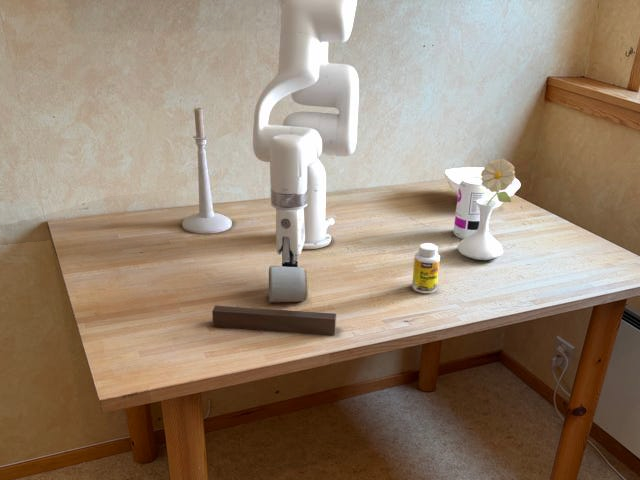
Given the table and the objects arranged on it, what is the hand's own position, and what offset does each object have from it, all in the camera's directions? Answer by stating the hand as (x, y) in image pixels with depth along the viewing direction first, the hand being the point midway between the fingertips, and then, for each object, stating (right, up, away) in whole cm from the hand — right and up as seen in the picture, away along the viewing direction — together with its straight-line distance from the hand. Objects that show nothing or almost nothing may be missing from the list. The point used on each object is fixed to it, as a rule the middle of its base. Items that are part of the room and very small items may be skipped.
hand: (290, 278), depth 152 cm
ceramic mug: (0, -5, -4) cm, 6 cm away
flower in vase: (+46, +8, +21) cm, 51 cm away
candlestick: (-25, +18, +31) cm, 44 cm away
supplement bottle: (+30, -2, +3) cm, 30 cm away
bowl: (+50, +28, +55) cm, 80 cm away
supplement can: (+44, +15, +33) cm, 57 cm away
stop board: (-1, -12, -16) cm, 20 cm away
